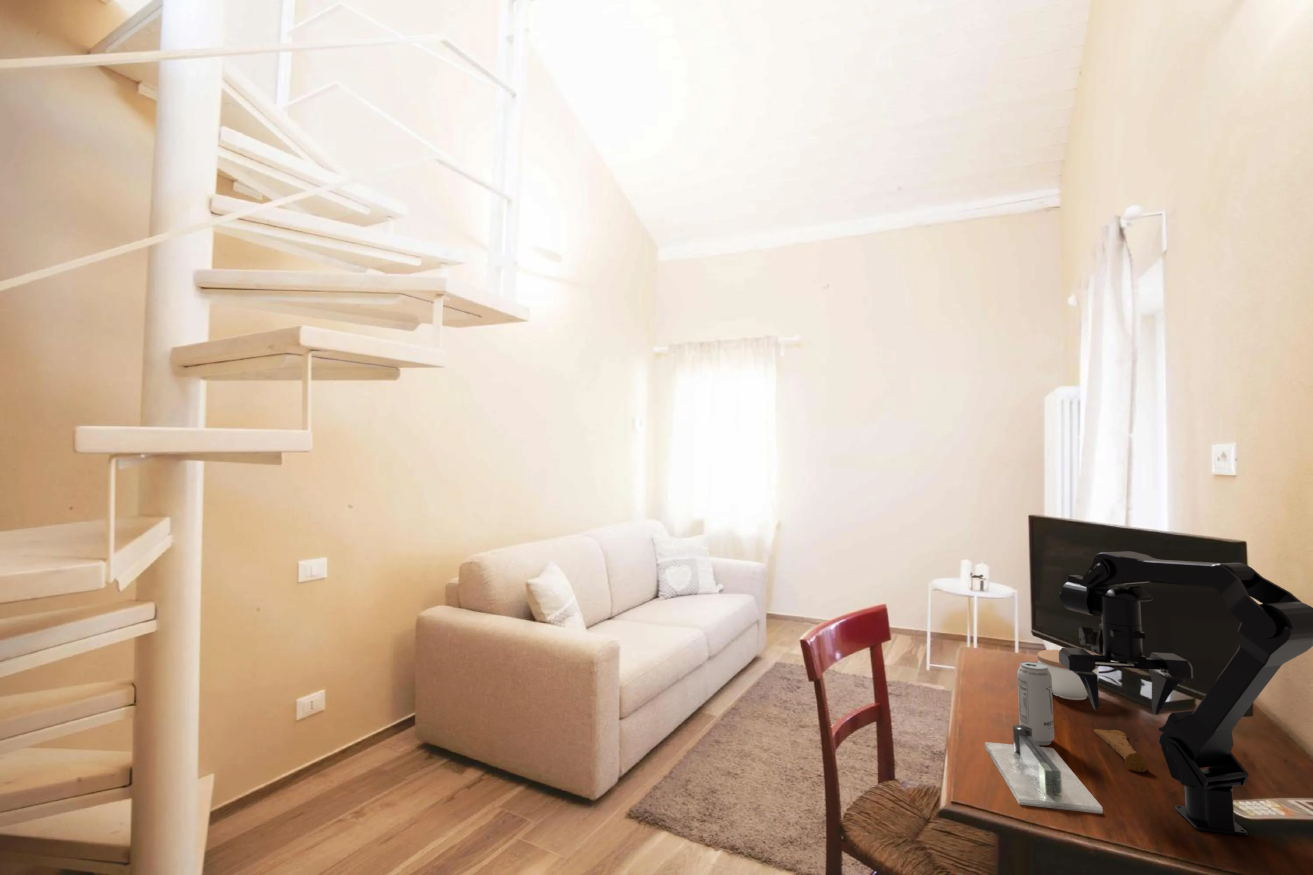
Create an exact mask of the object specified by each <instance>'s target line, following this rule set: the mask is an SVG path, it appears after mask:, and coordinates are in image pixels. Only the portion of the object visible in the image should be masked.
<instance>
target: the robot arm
mask: <svg viewBox="0 0 1313 875" xmlns="http://www.w3.org/2000/svg"><path fill="white" fill-rule="evenodd" d="M1145 583H1158V584H1168V585H1176V586H1177V585H1179V586H1187V587H1188V586H1189V587H1198V588H1200V587H1201V588H1211V589H1215V590H1216V591H1217V592H1218V593H1219V594H1220V596H1221V597H1222V599H1223V601H1224V603H1225V605H1226V607H1227V609H1228V611H1229V612H1230V613H1231V614H1232V615H1233V616H1234V617H1235V618H1236V619H1237V620H1239V622H1240V625H1239V626H1238V630H1237V633H1238V642H1239V647H1238V649H1237V650H1236V652H1235V653H1234V655H1233V656H1232V657H1231V658H1230V660H1229V662H1228V663H1227V664H1226V665H1225V667H1224V668H1223V670H1222V671H1221V673H1220V674H1219V675H1218V677H1217V679H1216V680H1215V681H1214V683H1213V684H1212V685H1211V687H1210V688H1209V690H1207V692H1206V694H1205V696H1204V697H1203V698H1202V699H1201V701H1200V703H1199V704H1198V705H1197V707H1196V708H1195V709H1193V710H1184V711H1175V712H1170V714H1169V715H1168V716H1167V719H1166V721H1165V724H1164V725H1163V726H1161V727H1158V731H1159V732H1161V733H1160V734H1159V737H1158V744H1159V745H1160V746H1161V747H1160V748H1161V751H1162V755H1163V757H1164V758H1165V762H1166V765H1167V767H1168V770H1169V773H1170V775H1171V778H1172V779H1174V780H1176V781H1178V782H1179V783H1180V785H1182V786H1184V800H1185V801H1184V802H1185V805H1175V806H1174V809H1175V810H1176V811H1177V812H1178V813H1179V814H1180V815H1181V816H1182V817H1183V818H1185V820H1187V822H1188V823H1190V825H1192V826H1193V827H1194V828H1195V829H1196V830H1199V831H1203V832H1204V831H1205V832H1211V833H1212V832H1213V833H1220V834H1229V835H1231V834H1232V835H1238V836H1239V835H1240V836H1247V835H1248V831H1247V830H1246V829H1245V828H1243V826H1241V825H1240V823H1237V821H1235V810H1234V809H1235V808H1234V806H1235V805H1234V790H1233V789H1234V788H1233V787H1235V786H1245V785H1246V783H1247V781H1248V780H1249V773H1248V771H1247V770H1246V769H1245V768H1244V766H1242V764H1241V763H1240V761H1239V760H1238V759H1237V758H1236V756H1235V755H1234V754H1233V752H1232V749H1233V747H1234V745H1235V744H1234V738H1233V737H1234V736H1233V730H1234V729H1235V727H1236V726H1237V724H1238V723H1239V722H1240V721H1241V719H1242V718H1243V717H1244V715H1245V714H1246V713H1247V711H1248V710H1249V709H1250V707H1251V706H1252V704H1253V703H1254V702H1255V701H1256V699H1257V698H1259V696H1260V694H1261V693H1262V692H1263V691H1264V689H1265V688H1266V686H1267V685H1268V684H1269V683H1270V681H1271V680H1272V679H1273V677H1274V676H1275V674H1276V673H1278V671H1279V669H1280V668H1281V667H1282V666H1283V665H1284V664H1285V663H1287V662H1289V661H1291V660H1293V659H1295V658H1297V657H1298V656H1301V655H1302V654H1304V653H1306V652H1307V651H1309V650H1311V648H1312V647H1313V606H1311V605H1308V604H1307V603H1305V602H1302V601H1301V600H1300V599H1299V598H1298V597H1296V596H1295V595H1294V594H1292V592H1290V591H1289V590H1286V589H1285V588H1284V587H1281V586H1280V585H1278V584H1276V583H1275V582H1272V581H1271V580H1269V579H1267V578H1265V577H1264V576H1262V575H1261V574H1259V573H1258V572H1257V571H1256V570H1255V569H1253V568H1252V566H1249V565H1248V564H1246V563H1242V562H1224V563H1223V562H1222V563H1220V562H1219V563H1218V562H1210V561H1209V562H1206V561H1205V562H1204V561H1191V560H1189V561H1188V560H1186V561H1185V560H1175V559H1174V560H1172V559H1170V560H1169V559H1168V560H1167V559H1158V558H1155V557H1153V556H1150V555H1149V554H1144V553H1141V552H1136V551H1130V550H1128V551H1110V552H1109V551H1105V552H1099V553H1096V555H1095V557H1094V558H1093V561H1092V564H1091V565H1090V567H1089V568H1088V570H1087V571H1086V572H1085V574H1084V575H1083V576H1082V575H1078V574H1073V575H1071V574H1070V575H1068V576H1067V581H1066V583H1064V584H1063V586H1062V587H1061V590H1060V592H1059V600H1060V603H1061V605H1062V607H1064V608H1065V609H1067V610H1070V611H1073V612H1078V613H1081V614H1086V615H1089V616H1093V617H1100V618H1101V623H1098V624H1099V626H1098V631H1094V629H1093V628H1092V627H1087V626H1085V627H1084V626H1081V627H1078V639H1079V643H1080V645H1081V646H1089V647H1090V649H1091V652H1097V653H1099V654H1092V653H1090V652H1088V651H1087V650H1086V649H1084V648H1077V647H1061V649H1059V650H1060V651H1059V662H1060V663H1061V664H1062V665H1064V666H1065V667H1066V668H1067V669H1069V670H1071V671H1073V672H1074V673H1075V674H1077V675H1078V676H1079V677H1080V679H1081V681H1082V682H1083V684H1084V687H1085V689H1086V691H1087V694H1088V696H1087V697H1088V699H1089V701H1090V703H1091V706H1092V708H1093V710H1094V711H1098V710H1099V706H1100V698H1099V694H1100V693H1099V677H1098V675H1097V674H1096V673H1094V672H1093V670H1094V669H1095V668H1096V667H1095V666H1099V667H1105V668H1108V667H1109V668H1124V669H1138V670H1142V669H1143V670H1148V672H1149V676H1150V678H1151V709H1152V713H1153V714H1154V715H1159V714H1160V712H1161V710H1162V708H1163V707H1164V705H1165V704H1166V702H1167V699H1168V698H1169V697H1170V695H1171V694H1172V693H1173V691H1174V690H1175V689H1176V688H1177V686H1178V685H1179V684H1184V683H1185V679H1191V680H1192V679H1194V668H1193V666H1192V664H1191V662H1189V661H1188V660H1187V659H1185V658H1183V657H1181V656H1179V655H1177V654H1175V653H1174V652H1172V653H1171V652H1153V651H1152V652H1151V653H1150V655H1149V657H1147V656H1145V655H1144V653H1143V640H1146V632H1144V631H1142V615H1141V611H1142V610H1141V602H1151V601H1153V599H1154V598H1153V597H1152V596H1151V595H1150V594H1149V593H1148V592H1147V591H1145V590H1144V589H1143V588H1142V586H1141V585H1137V586H1136V585H1135V586H1130V587H1128V588H1126V587H1121V586H1126V585H1131V584H1145ZM1110 587H1111V588H1110ZM1255 600H1256V601H1255ZM1258 602H1259V603H1258ZM1101 654H1102V655H1101ZM1234 821H1235V822H1234Z"/></svg>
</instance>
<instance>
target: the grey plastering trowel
mask: <svg viewBox="0 0 1313 875" xmlns="http://www.w3.org/2000/svg"><path fill="white" fill-rule="evenodd" d="M1026 735H1028V736H1032V729H1031V728H1030V727H1027V726H1024V725H1019V724H1014V725H1013V726H1012V738H1013V744H1011V743H1002V742H1001V743H1000V742H988V741H985V742H984V748H985V749H986V751H987V753H988V754H989V756H990V758H991V760H992V761H993V763H994V764H995V767H996V768H997V769H998V771H999V773H1000V775H1001V776H1002V778H1003V780H1004V782H1005V783H1006V785H1007V787H1008V789H1010V790H1009V791H1010V792H1011V793H1012V795H1013V796H1014V798H1015V799H1016V801H1017V803H1018V805H1022V806H1030V807H1039V808H1047V809H1056V810H1057V809H1058V810H1065V811H1074V812H1084V813H1092V814H1093V813H1094V814H1103V806H1102V805H1101V804H1100V803H1099V802H1098V800H1097V799H1096V798H1095V797H1094V795H1093V794H1092V793H1091V792H1090V791H1089V790H1088V788H1087V787H1086V785H1084V784H1083V782H1082V781H1081V780H1080V779H1079V777H1078V776H1077V775H1076V774H1075V773H1074V772H1073V771H1072V769H1071V768H1070V767H1069V765H1068V764H1067V763H1066V762H1065V761H1064V760H1063V758H1062V757H1061V756H1060V755H1059V753H1058V752H1057V751H1056V750H1055V749H1054V748H1053V747H1045V746H1040V747H1041V748H1042V750H1043V751H1044V752H1045V753H1046V755H1047V756H1048V757H1049V758H1050V760H1051V761H1052V762H1053V763H1054V764H1056V766H1057V767H1058V768H1059V769H1060V771H1061V778H1062V793H1056V792H1053V771H1052V769H1051V768H1050V767H1049V766H1048V764H1047V763H1046V762H1045V761H1044V760H1043V758H1042V757H1041V756H1040V754H1039V753H1038V752H1037V751H1036V749H1035V748H1034V747H1033V745H1032V744H1031V743H1030V741H1029V740H1028V739H1027V738H1026Z"/></svg>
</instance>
